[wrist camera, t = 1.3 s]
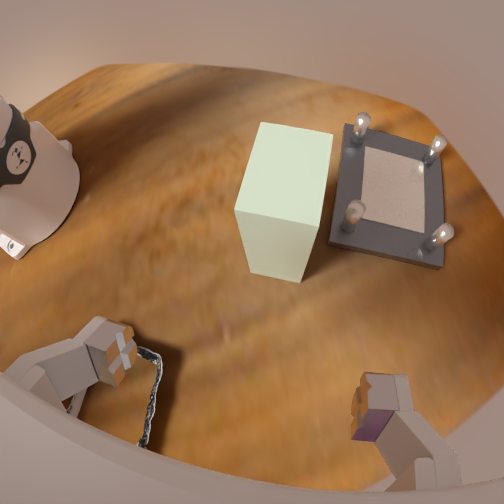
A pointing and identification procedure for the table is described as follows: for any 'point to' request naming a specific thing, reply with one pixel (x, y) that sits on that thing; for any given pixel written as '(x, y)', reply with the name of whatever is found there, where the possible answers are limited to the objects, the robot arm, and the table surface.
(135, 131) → the table surface
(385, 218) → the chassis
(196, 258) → the table surface
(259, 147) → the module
